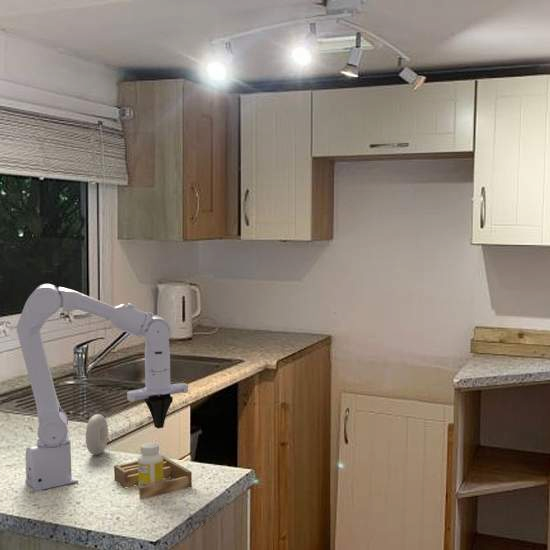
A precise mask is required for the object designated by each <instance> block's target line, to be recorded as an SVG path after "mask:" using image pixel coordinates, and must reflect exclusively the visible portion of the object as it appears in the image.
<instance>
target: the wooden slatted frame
mask: <svg viewBox="0 0 550 550" xmlns="http://www.w3.org/2000/svg"><path fill="white" fill-rule="evenodd" d="M161 455H162V454H161ZM162 457H163V482H159V483H155V484H150V485H146V486H142V487H139V485H138V460H135V461H129V462H126V463H125V462H124V463H120V464H115V465H113V471H114V474H113V475H114V479H113V480H114V481H115V482H116V481H117V482H118V483H117V482H116V483H117V484H119V483H120V484H121V485H120V484H119V485H120V486H122V487H123V486H124V487H129V488H131V487H130V486H133V487H135V486H134V485H137V486H138V492H139V493H138V495H139V499H140V500H144V498H145V499H148V498H153V497H156V496H161V495H165V494H168V493H169V494H170V493H174V492H177V491H181V490H184V489H190V488H192V487H193V484H192V483H193V480H192V477H193V476H192V471H191V470H189V469H187V468H186V467H184V466H183V465H180V464H179V463H177V462H175V461H173V460H171V459H170V458H168V457H166V456H164V455H162ZM169 477H172V479H170V478H169ZM164 478H167V479H168V480H165V479H164ZM173 478H174V479H173ZM124 487H123V488H124Z"/></svg>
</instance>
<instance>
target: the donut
mask: <svg viewBox="0 0 550 550" xmlns="http://www.w3.org/2000/svg"><path fill="white" fill-rule="evenodd" d="M108 439H109V427H108V423H107V419H106V418H105V417H104V416H103V415H102V414H100V413H98V414H94V415H92V416H91V417H90V418H89V420H88V422H87V425H86V429H85V445H86V448H87V450H88V452H89V453H90V454H92V455H94V456H99V455H101V454H102V453H103V452H104V451H105V450H106V447H107V446H108V445H107V444H108Z"/></svg>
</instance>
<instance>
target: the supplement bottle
mask: <svg viewBox="0 0 550 550" xmlns="http://www.w3.org/2000/svg"><path fill="white" fill-rule="evenodd" d="M140 453H141V454H140V455H139V456H138V457H137V461H138V485H137V486H138V488H139V487H142V486H146V485H150V484H155V483H159V482H163V481H164V479H163V457H162V454H161V453H160V444H159V443H157V442H146V443H142V444H141V445H140Z"/></svg>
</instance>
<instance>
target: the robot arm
mask: <svg viewBox="0 0 550 550" xmlns="http://www.w3.org/2000/svg"><path fill="white" fill-rule="evenodd" d="M61 307H62V312H68V311H72V310H79V311H82V312H85V313H89V314H91V315H94V316H97V317H100V318H102V319H106V320H109V321H110V323H111V325H112V327H113V328H114V329H116V330H119V331H122V332H125V333H127V334H131V335H133V336H135V337H138V338H139V337H145V340H144V342H145V349H144V373H145V375H144V376H145V377H144V379H145V384H144V385H145V387H141V388H138V389H133V390H130V391H127V392H126V397H127V399H126V400H127V401H128V402H135V401H139V400H143V401H144V402H145V403H146V406H147V408H148V409H149V412H150V415H151V418H152V422H153V427H154V428H156V429H163V428H164V427H165V422H166V417H167V414H168V412H169V411H168V410H170V406H171V405H172V403H173V399H174V398H173V396H171V395H175V394H181V393H183V394H187V393H189V384H187V383H185V382H181V383H171V353H170V352H171V351H170V338H171V335H172V330H171V326H170V324H169V323H168V322H167V320H166V319H165V318H163V317H161V316H159V315H157V314H154V313H153V312H152V311H148V312H145V311H143V310H140V309H138V308H135V306H134V304H132V303H131V302H129V303H127V304H125V303H121V304H120V305H117V306H114V305H111V304H108V303H106V302H104V301H101V300H99V299H96V298H95V297H92V296H89V295H86V294H85V293H82V292H79V291H76V290H74V289H71V288H67V287H62V286H58V287H57V286H56V285H54V284H51V283H43V284H40V285H38V286H37V287H36V288H35V289H34V291H32V293H30V295H29V296H28V298H27V300H26V301H25V303H24V305H23V309H22V311H21V313H20V316H19V319H18V321H17V324H16V327H15V328H16V333H17V337H18V340H19V345H20V349H21V352H22V356H23V359H24V364H25V368H26V370H27V375H28V379H29V383H30V387H31V391H32V395H33V398H34V402H35V407H36V413H37V418H38V428H37V437H38V439H36V443H35V444H33V445H31V446H28V447H26V450H25V479H24V480H25V482H26V483H27V484H28V485H29V486H30V487H32V488H33V489H34V490H35V491H42V490H47V489H52V488H56V487H61V486H65V485H69V484H73V483H78V482H79V479H78V478H77V477H75V476H74V475H73V473H72V448H71V437H70V436H68V432H69V430H68V425H69V418H68V415H67V413H66V412H65V411H64V410H63V409H62V407H61V405H60V404H61V403H60V401H59V399H58V395H57V392H56V387H55V385H54V384H55V383H54V381H53V377H52V376H53V375H52V372H51V370H50V366H49V362H48V361H49V360H48V358H47V354H46V350H45V346H44V342H43V338H42V334H41V329H42V328H43V326H44V325H45V323H46V321H47V320H48V319H49V318H51V317H53V316H54V315H55V314H56V313H58V311H59V309H60V308H61Z"/></svg>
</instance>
